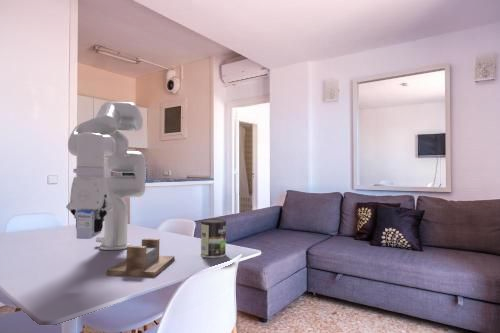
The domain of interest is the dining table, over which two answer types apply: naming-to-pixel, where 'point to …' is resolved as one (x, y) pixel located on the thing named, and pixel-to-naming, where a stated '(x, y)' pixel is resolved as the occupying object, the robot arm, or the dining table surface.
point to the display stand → (142, 260)
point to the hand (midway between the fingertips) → (89, 230)
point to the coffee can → (213, 238)
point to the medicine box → (86, 224)
